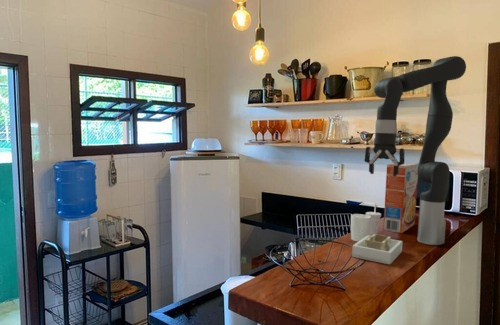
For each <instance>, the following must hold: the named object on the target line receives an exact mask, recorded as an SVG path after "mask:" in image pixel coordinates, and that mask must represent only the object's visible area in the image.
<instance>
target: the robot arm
mask: <svg viewBox="0 0 500 325" xmlns="http://www.w3.org/2000/svg"><path fill="white" fill-rule="evenodd" d="M466 70H467V64H466V61H465V59H464V58H463V57H461V56H459V55H455V56H454V55H452V56H448V57H443V58H439V59H436V61H434V63H433V65H432V66H430V67H425V68H419V69H415V70H412V71H408V72H406V73H405V72H404V73H403V74H399V75H397V76H392V77H386V78H384V79H381V80H378V81H377V82H376V84H375V85H374V89H373V91H374V93H375V96H377V97H378V98H380V99H384V101H383V103H381V104H379V105H378V107H377V110H376V123H375V130H374V131H375V133H374V146H373V147H371V146H366V147H365V153H364V154H365V155H364V162H365V163H367V164H368V172H369V173H370V175H374V172H375V162H376V161H377V160H378V159H380V160H382V159H385V160H390V161H391V162H392V164H394V165H395V166H394V171H393V176H396V175H397V174H398V170H399V165H402V164H404V163H405V148H397V146H396V145H397V131H398V130H397V129H398V125H397V116H398V114H397V113H398V109H399V108H398V107H399V104H400V102H401V99H402V96H403V93H408V92H411V91H414V90H417V89H420V88H422V87H426V86H428V85H430V96H429V97H430V98H429V104H428V105H429V106H428V112H427V117H426V118H427V119H426V124H425V126H426V127H425V133H424V134H425V135H424V139H423V144H422V150H421V153H420V156H419V157H420V158H419V162H418V164H419V165H418V170H417V175H418V181H420V182H422V183H424V184H430V188H429V190H427V191H422V192H421V193H420V196H419V197H420V198H419V208H418V209H419V212H418V226H417V241H418V242H419V243H421V244H425V245H430V246H440V245H443V244H445V238H446V225H447V224H446V223H447V222H446V219H445V206H446V198H447V194H448V192H449V182H450V176H451V174H450V167H449V165H448V164H447V163H446V162H442V161H437V160H436V156H437V152H438V149H439V148H440V146H441V144H443V142H444V141H445V139H446V138H447V137H448V135H449V134H450V132H451V129H452V124H453V116H454V115H453V109H452V106H451V104H450V101H449V99H448V96H447V85H448V81H454V80H458V79H460V78H461V77H463V76H464V74H465V73H466ZM373 152H374V155H373V156H372V158H371V153H373ZM396 153H397V154H398V155H399V161H398V160H397V157H396V156H395V154H396ZM370 158H371V159H370Z"/></svg>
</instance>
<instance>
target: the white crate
mask: <svg viewBox="0 0 500 325" xmlns="http://www.w3.org/2000/svg"><path fill="white" fill-rule="evenodd" d="M369 237H371V236H370V235H367V236H366V237H364V238H363V239H361V240H360V241H359V242H355V243H354V244H353V245H352V252H351V257H353V258H357V259H363V260H366V261H371V262H377V263H381V264H385V265H391V264H392V263H393V262H394V261H395V260H396V259H397V258H398V257H399V256H400V254H401V253H402V252H403V240H400V239H399V240H397V239H392V238H391V244H390V250H389V251H383V250H378V249H372V248H367V247H365V241H366V240H367V239H368V238H369Z"/></svg>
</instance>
